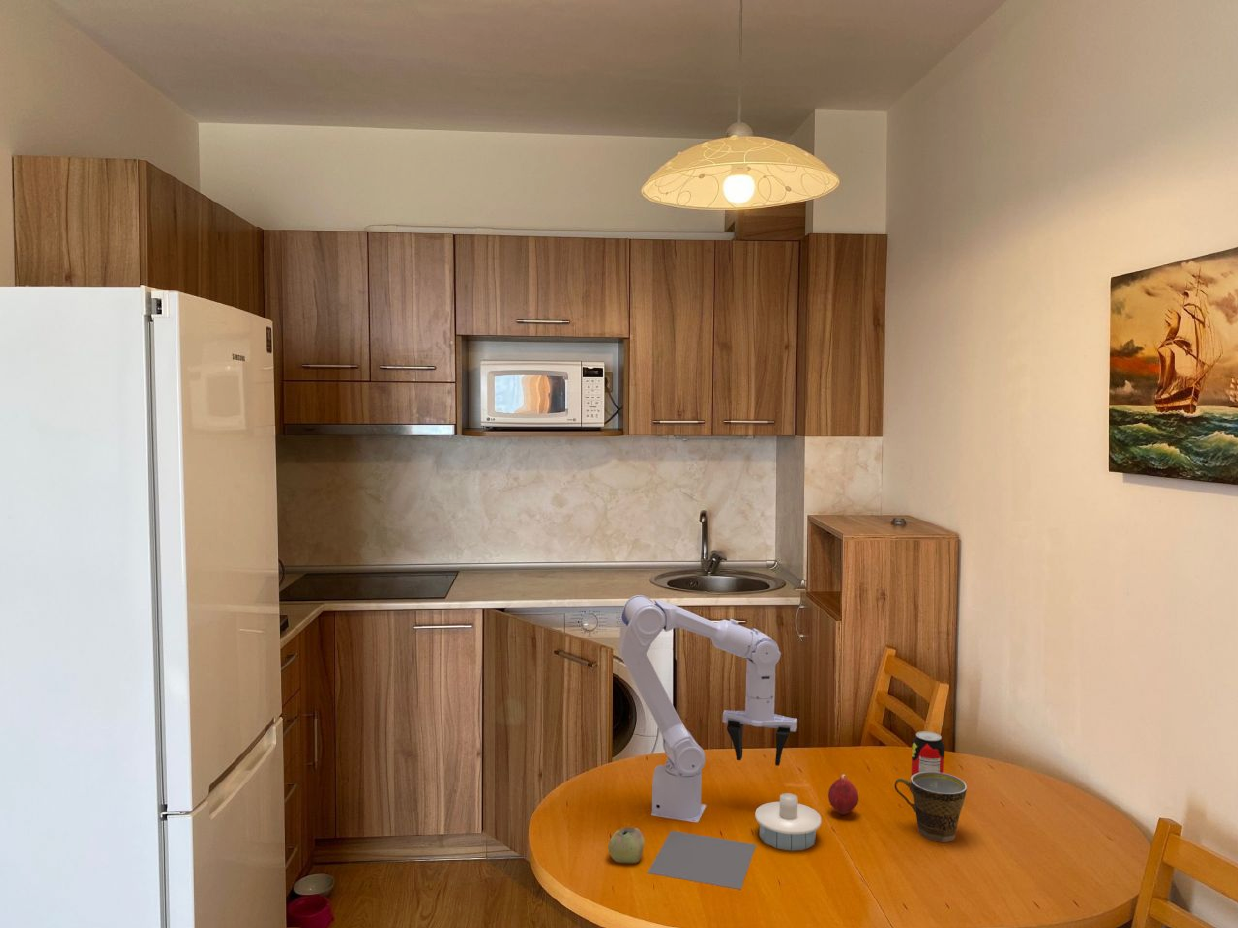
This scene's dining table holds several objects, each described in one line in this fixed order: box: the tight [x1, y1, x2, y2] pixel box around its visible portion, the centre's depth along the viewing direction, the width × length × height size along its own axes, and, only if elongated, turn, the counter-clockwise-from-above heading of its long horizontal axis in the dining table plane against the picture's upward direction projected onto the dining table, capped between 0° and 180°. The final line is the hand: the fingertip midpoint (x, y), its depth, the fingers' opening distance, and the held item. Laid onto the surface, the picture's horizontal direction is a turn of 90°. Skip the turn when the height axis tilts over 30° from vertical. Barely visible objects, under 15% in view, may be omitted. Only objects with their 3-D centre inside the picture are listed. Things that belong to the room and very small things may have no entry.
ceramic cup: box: [893, 772, 968, 843], centre depth 170 cm, size 13×10×10 cm
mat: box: [647, 830, 757, 890], centre depth 158 cm, size 16×16×1 cm
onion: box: [827, 774, 859, 816], centre depth 177 cm, size 6×6×8 cm
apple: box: [608, 826, 646, 865], centre depth 158 cm, size 6×8×6 cm
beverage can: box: [910, 730, 945, 778], centre depth 188 cm, size 6×6×12 cm
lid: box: [754, 792, 822, 834], centre depth 166 cm, size 12×12×4 cm
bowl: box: [759, 824, 817, 852], centre depth 166 cm, size 10×10×4 cm
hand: (758, 760), depth 179 cm, fingers open, 7 cm apart
